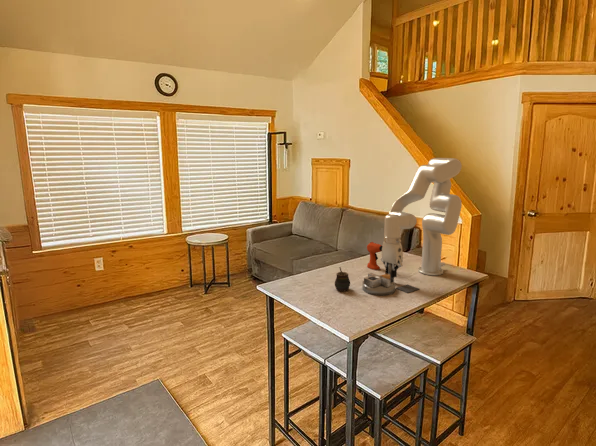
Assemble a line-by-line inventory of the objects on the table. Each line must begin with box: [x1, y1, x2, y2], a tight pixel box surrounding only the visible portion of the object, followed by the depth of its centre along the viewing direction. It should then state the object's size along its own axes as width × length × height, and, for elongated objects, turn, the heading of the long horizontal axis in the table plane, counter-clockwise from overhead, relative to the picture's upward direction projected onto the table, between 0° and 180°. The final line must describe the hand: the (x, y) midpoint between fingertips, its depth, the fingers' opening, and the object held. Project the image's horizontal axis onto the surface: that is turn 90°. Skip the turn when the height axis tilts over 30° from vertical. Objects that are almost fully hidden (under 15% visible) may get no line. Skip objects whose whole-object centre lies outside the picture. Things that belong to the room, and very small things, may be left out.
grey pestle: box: [388, 263, 395, 283], centre depth 184 cm, size 3×3×10 cm
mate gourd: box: [334, 266, 351, 292], centre depth 176 cm, size 7×8×10 cm
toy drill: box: [366, 241, 383, 271], centre depth 202 cm, size 5×19×15 cm, turn 33°
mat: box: [395, 284, 420, 294], centre depth 176 cm, size 8×7×1 cm
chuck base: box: [361, 280, 396, 297], centre depth 176 cm, size 15×15×3 cm
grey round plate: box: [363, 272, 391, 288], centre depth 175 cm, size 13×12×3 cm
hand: (390, 275), depth 184 cm, fingers closed on grey pestle, 3 cm apart
